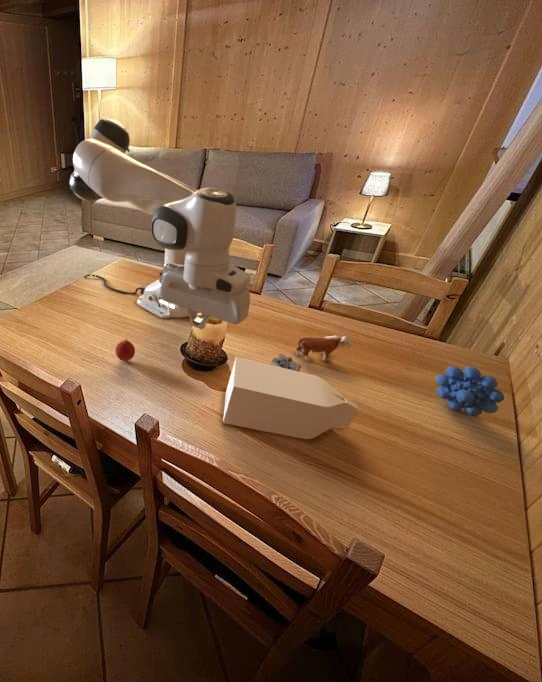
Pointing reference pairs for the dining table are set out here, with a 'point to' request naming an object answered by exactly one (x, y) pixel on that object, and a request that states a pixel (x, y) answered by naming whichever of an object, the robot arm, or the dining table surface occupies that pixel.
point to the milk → (283, 401)
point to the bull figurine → (321, 345)
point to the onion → (125, 350)
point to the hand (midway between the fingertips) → (197, 326)
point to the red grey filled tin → (286, 363)
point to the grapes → (469, 390)
